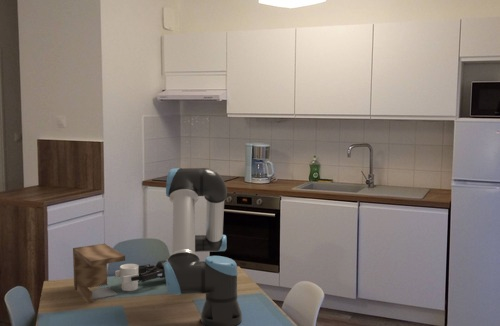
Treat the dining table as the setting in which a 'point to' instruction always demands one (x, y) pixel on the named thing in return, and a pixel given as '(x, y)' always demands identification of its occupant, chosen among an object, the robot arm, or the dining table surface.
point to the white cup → (126, 271)
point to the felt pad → (102, 293)
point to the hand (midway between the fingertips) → (119, 277)
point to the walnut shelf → (92, 267)
